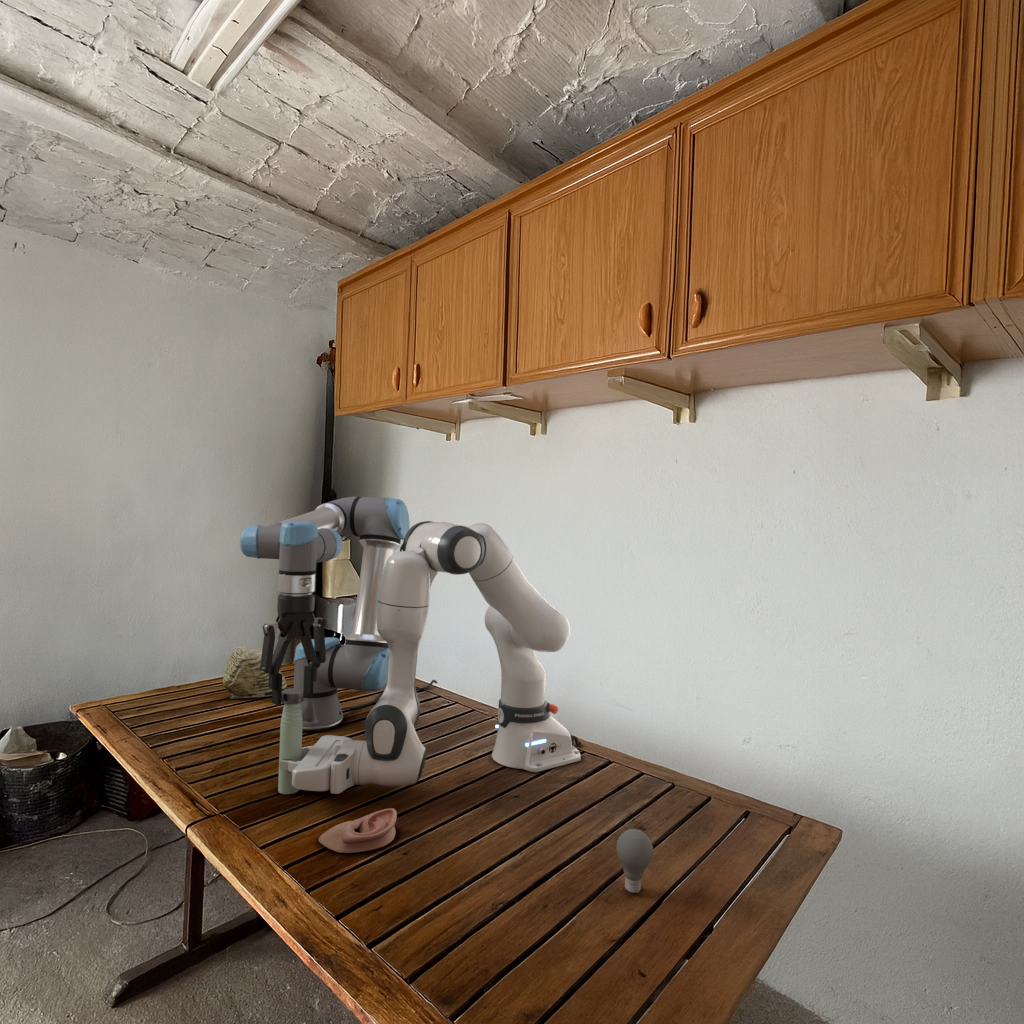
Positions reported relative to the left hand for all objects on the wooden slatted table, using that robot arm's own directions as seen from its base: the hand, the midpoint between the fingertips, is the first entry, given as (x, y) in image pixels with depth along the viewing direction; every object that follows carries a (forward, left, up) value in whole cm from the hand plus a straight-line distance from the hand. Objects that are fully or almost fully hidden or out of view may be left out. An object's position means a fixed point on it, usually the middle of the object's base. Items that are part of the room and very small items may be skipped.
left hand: (292, 700), depth 136 cm
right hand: (+1, -1, -13) cm, 13 cm away
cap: (0, 0, +2) cm, 2 cm away
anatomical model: (+2, +26, -19) cm, 33 cm away
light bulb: (-19, +73, -19) cm, 77 cm away
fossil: (-28, -64, -19) cm, 72 cm away
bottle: (0, 0, -19) cm, 19 cm away
